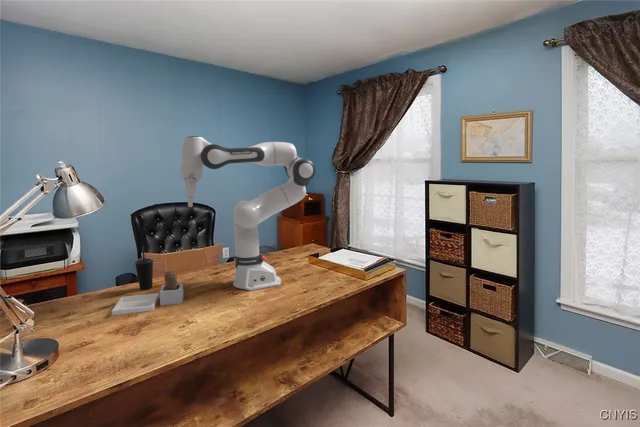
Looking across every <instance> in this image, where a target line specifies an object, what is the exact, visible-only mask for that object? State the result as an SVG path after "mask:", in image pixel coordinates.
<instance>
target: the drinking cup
mask: <svg viewBox="0 0 640 427" xmlns="http://www.w3.org/2000/svg"><path fill="white" fill-rule="evenodd" d="M141 248H142V250H141V252H142V257H141V258H138V259H136V260H135V261H134V264H135V268H136V270H135V271H136V274H137V280H138V286H139V290H140V291H149V290H152V289H153V276H154V274H153V273H154V271H153V270H154V269H153V268H154V259H153V258H150V257H146V256H145V247H144V246H142V247H141Z"/></svg>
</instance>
